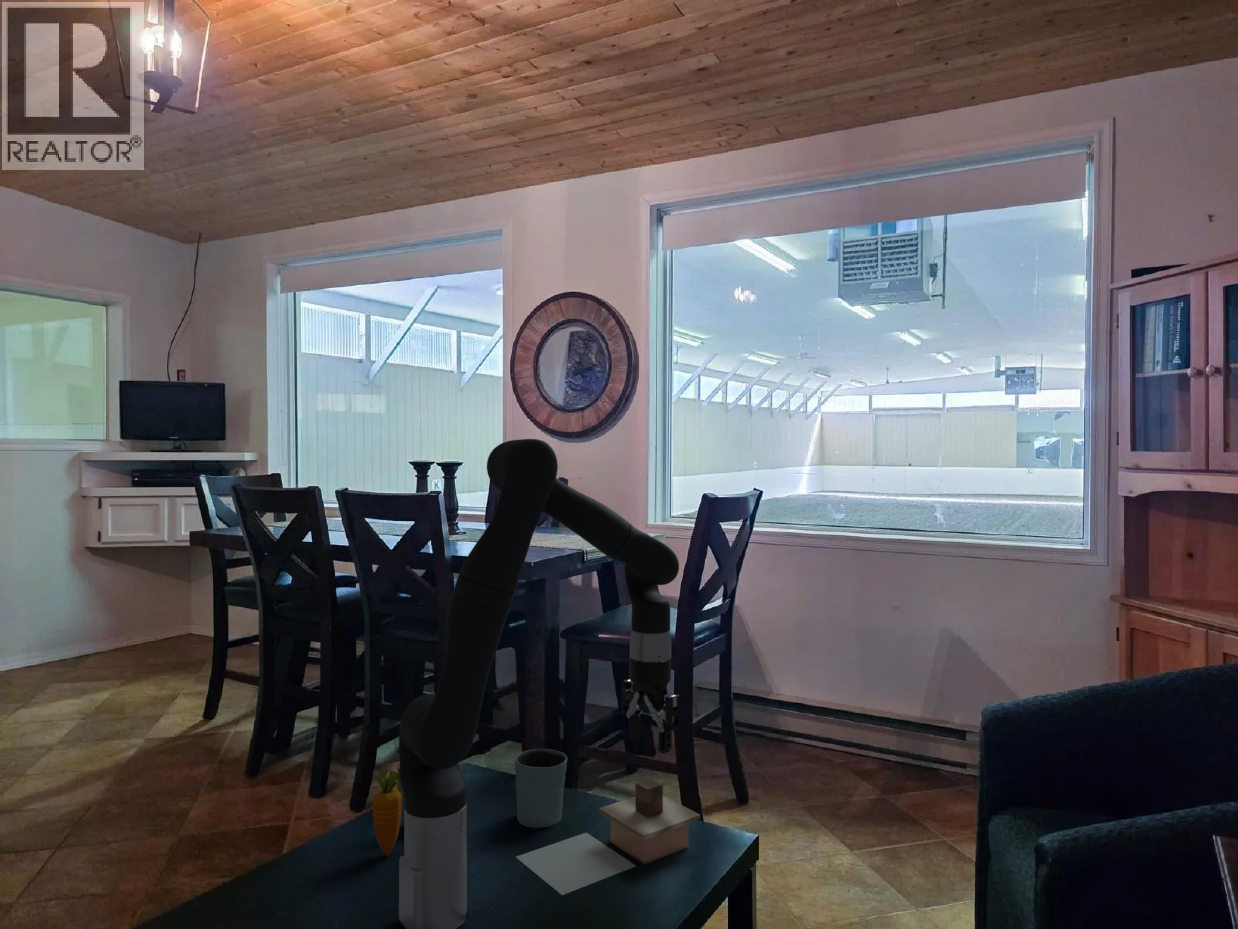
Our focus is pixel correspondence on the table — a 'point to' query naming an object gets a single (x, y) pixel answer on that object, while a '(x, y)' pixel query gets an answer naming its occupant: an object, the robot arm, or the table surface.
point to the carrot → (387, 812)
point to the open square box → (649, 843)
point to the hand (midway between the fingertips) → (649, 745)
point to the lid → (649, 811)
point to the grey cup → (540, 787)
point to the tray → (575, 863)
